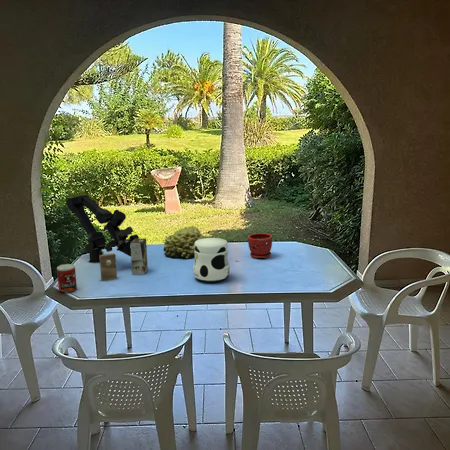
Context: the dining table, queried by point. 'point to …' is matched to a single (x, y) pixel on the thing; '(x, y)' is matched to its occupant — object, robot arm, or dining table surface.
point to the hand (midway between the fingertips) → (131, 255)
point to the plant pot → (260, 245)
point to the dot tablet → (108, 267)
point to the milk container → (211, 260)
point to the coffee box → (139, 256)
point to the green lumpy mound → (182, 242)
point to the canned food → (66, 278)
